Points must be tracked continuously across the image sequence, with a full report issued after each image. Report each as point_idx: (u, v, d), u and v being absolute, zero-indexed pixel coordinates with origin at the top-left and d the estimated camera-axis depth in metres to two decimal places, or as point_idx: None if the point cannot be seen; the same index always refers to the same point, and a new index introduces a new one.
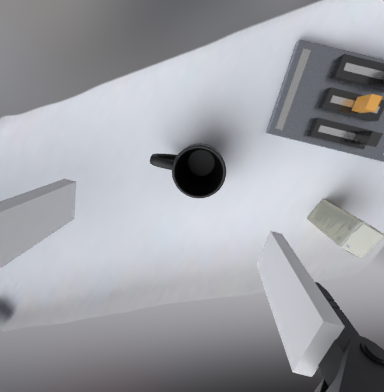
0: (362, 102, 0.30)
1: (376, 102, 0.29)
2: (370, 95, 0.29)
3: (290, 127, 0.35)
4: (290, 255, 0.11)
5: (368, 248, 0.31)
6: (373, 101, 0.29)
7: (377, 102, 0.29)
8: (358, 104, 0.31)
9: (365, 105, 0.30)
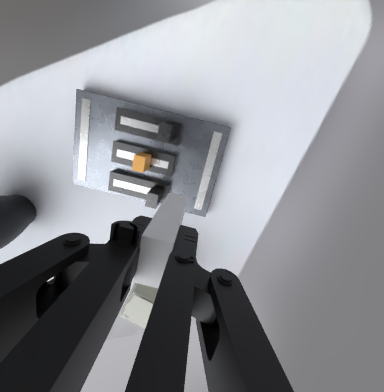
0: None
1: (141, 163, 0.26)
2: None
3: (93, 178, 0.33)
4: (178, 208, 0.13)
5: None
6: (137, 162, 0.26)
7: (142, 163, 0.26)
8: None
9: (133, 165, 0.27)
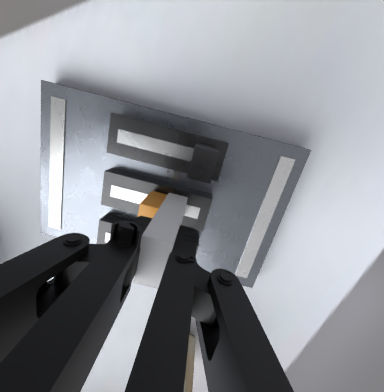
0: None
1: None
2: None
3: (73, 225, 0.20)
4: (178, 208, 0.13)
5: None
6: None
7: None
8: None
9: None
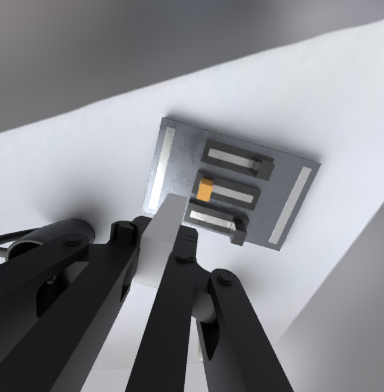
0: (199, 188, 0.26)
1: (207, 192, 0.25)
2: (200, 184, 0.25)
3: None
4: (178, 208, 0.13)
5: None
6: (204, 191, 0.25)
7: (208, 192, 0.25)
8: (199, 188, 0.27)
9: None
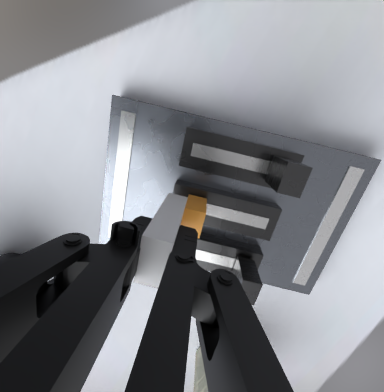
0: None
1: (197, 223, 0.14)
2: None
3: None
4: (177, 208, 0.13)
5: None
6: (190, 221, 0.14)
7: (199, 223, 0.14)
8: None
9: None
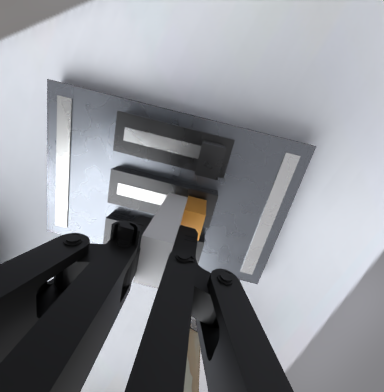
0: None
1: (196, 225, 0.14)
2: (184, 210, 0.14)
3: (79, 224, 0.20)
4: (177, 208, 0.13)
5: None
6: (190, 223, 0.14)
7: (198, 225, 0.14)
8: None
9: None
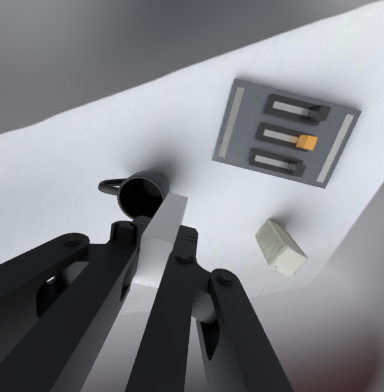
0: (302, 141, 0.33)
1: (313, 142, 0.32)
2: (307, 136, 0.32)
3: (232, 155, 0.39)
4: (178, 208, 0.13)
5: (294, 269, 0.34)
6: (310, 141, 0.32)
7: (313, 142, 0.32)
8: (300, 142, 0.34)
9: (303, 144, 0.33)
